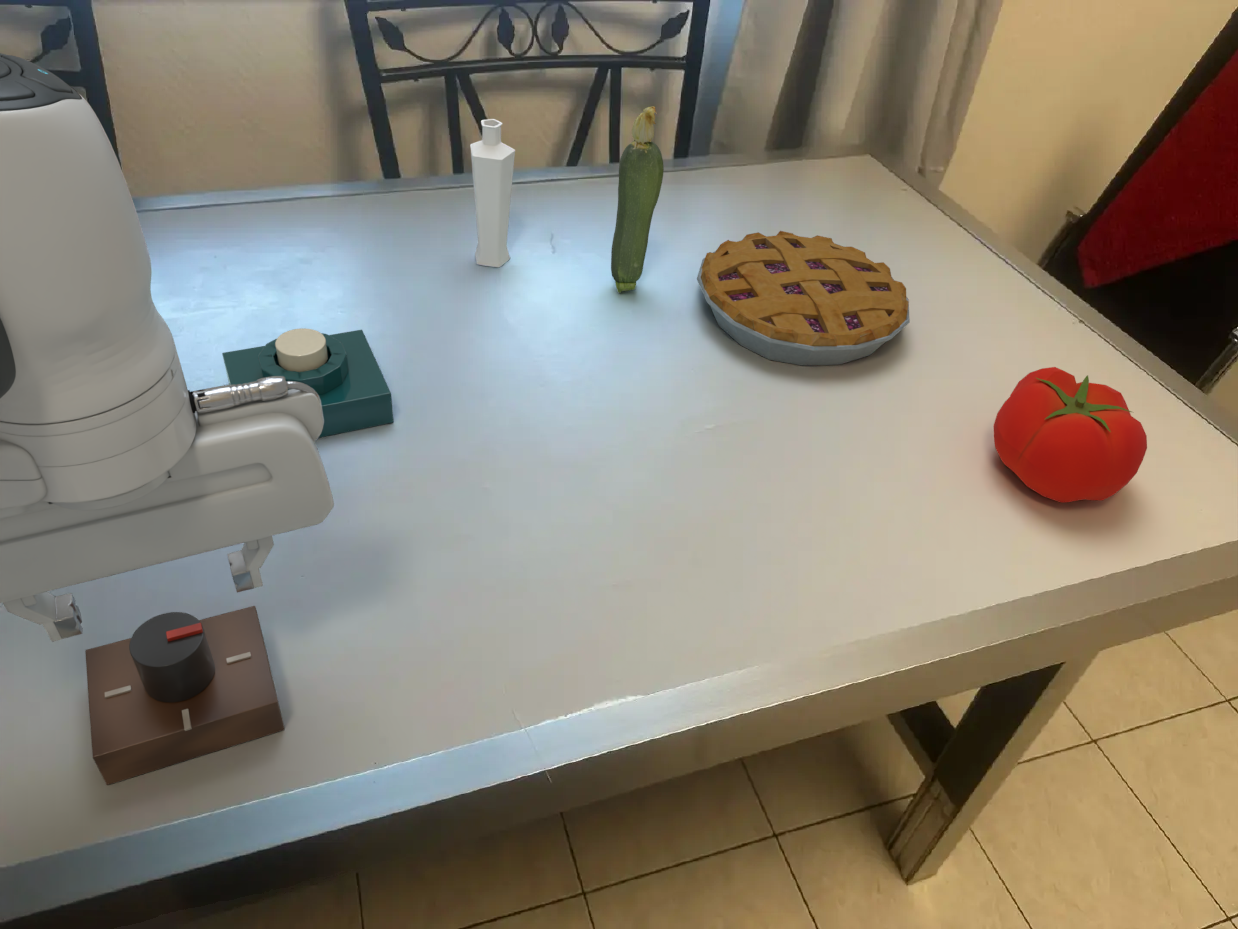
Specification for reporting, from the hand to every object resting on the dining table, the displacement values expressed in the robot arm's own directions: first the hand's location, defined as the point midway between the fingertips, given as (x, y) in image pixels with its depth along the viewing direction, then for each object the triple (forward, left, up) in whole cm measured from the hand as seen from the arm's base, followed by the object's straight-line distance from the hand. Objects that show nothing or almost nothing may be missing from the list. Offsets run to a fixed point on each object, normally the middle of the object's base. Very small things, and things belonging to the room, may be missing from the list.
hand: (161, 604), depth 54 cm
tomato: (+71, -2, -10) cm, 71 cm away
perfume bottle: (+36, +47, -10) cm, 60 cm away
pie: (+63, +27, -10) cm, 69 cm away
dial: (0, 0, -6) cm, 6 cm away
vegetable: (+48, +37, -10) cm, 61 cm away
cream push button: (+13, +28, -5) cm, 31 cm away
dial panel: (0, 0, -9) cm, 9 cm away
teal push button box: (+13, +28, -9) cm, 32 cm away
